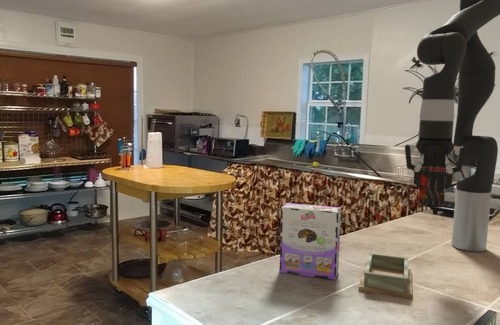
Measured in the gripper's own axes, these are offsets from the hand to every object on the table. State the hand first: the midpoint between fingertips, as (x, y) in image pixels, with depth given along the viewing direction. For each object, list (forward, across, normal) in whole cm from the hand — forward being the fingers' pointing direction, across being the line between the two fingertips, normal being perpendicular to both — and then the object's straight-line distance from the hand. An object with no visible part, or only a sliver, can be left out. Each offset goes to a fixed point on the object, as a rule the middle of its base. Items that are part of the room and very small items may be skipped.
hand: (431, 187), depth 105 cm
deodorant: (+5, 0, 0) cm, 5 cm away
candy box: (+21, +27, +13) cm, 37 cm away
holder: (+21, +9, +12) cm, 26 cm away
